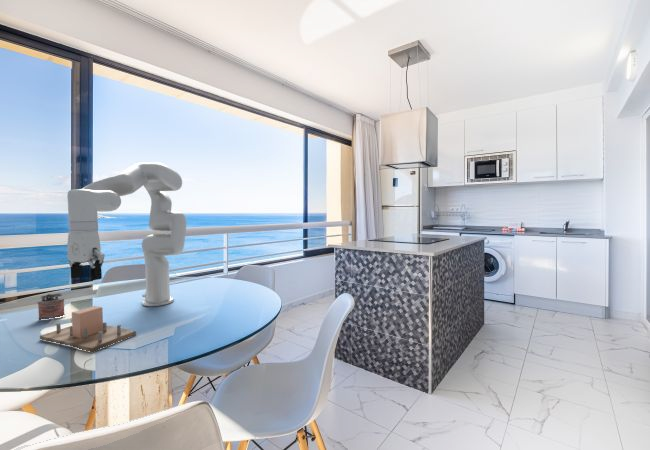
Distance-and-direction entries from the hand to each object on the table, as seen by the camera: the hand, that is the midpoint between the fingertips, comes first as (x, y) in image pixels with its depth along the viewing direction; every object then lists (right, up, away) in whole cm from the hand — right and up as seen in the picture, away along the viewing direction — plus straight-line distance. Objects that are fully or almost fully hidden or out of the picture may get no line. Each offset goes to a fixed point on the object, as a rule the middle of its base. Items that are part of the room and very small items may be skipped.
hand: (86, 278), depth 101 cm
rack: (0, -20, +1) cm, 20 cm away
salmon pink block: (0, -19, +1) cm, 19 cm away
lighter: (-29, -20, +20) cm, 40 cm away
